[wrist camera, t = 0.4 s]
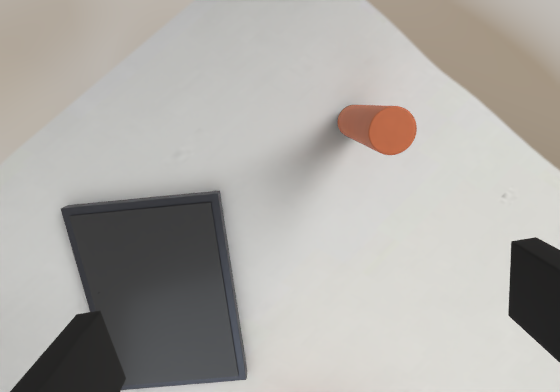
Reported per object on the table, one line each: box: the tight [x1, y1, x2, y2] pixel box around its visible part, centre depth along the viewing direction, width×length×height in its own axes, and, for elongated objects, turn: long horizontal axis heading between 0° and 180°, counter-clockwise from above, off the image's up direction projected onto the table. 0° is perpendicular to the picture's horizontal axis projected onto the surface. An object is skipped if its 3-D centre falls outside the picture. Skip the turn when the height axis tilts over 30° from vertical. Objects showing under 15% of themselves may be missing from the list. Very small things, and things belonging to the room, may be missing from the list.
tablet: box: [61, 191, 247, 390], centre depth 32 cm, size 20×14×1 cm
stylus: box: [338, 105, 417, 155], centre depth 23 cm, size 3×3×11 cm
